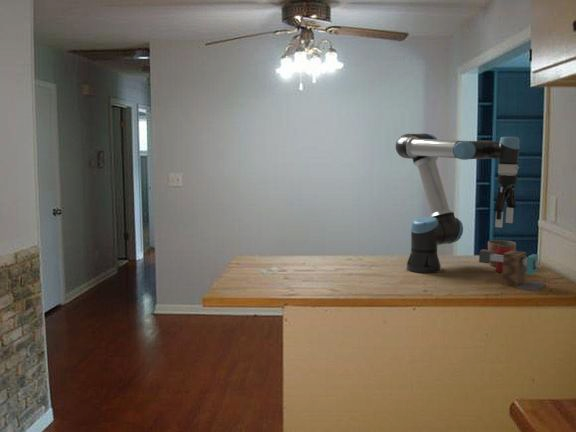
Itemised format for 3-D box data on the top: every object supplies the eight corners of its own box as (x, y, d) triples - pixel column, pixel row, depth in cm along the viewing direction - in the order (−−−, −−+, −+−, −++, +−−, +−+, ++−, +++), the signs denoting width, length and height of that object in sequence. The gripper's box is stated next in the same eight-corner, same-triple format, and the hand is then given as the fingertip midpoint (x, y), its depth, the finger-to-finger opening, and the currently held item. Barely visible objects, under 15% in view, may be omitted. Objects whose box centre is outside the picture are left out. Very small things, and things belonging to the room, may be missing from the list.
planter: (520, 265, 276) (521, 242, 274) (503, 269, 269) (505, 245, 267) (497, 261, 286) (498, 239, 284) (481, 264, 279) (482, 241, 277)
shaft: (479, 262, 249) (479, 250, 248) (482, 260, 252) (483, 249, 251) (535, 270, 234) (536, 257, 233) (538, 268, 237) (539, 256, 236)
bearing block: (502, 284, 241) (503, 253, 239) (509, 280, 247) (511, 250, 246) (517, 287, 237) (518, 255, 235) (524, 283, 244) (526, 252, 242)
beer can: (512, 273, 260) (513, 247, 258) (496, 273, 261) (498, 246, 259) (510, 270, 266) (511, 244, 265) (494, 269, 267) (495, 243, 266)
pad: (516, 288, 235) (516, 286, 235) (526, 282, 245) (526, 281, 244) (536, 291, 231) (536, 289, 231) (545, 285, 240) (546, 283, 240)
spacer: (526, 274, 235) (527, 256, 234) (531, 270, 240) (532, 254, 239) (531, 274, 234) (532, 257, 233) (537, 271, 239) (538, 254, 238)
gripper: (507, 177, 231) (503, 230, 235) (525, 173, 251) (522, 222, 254) (488, 175, 236) (484, 227, 239) (507, 172, 255) (504, 220, 259)
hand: (503, 225), depth 247 cm, fingers open, 13 cm apart
